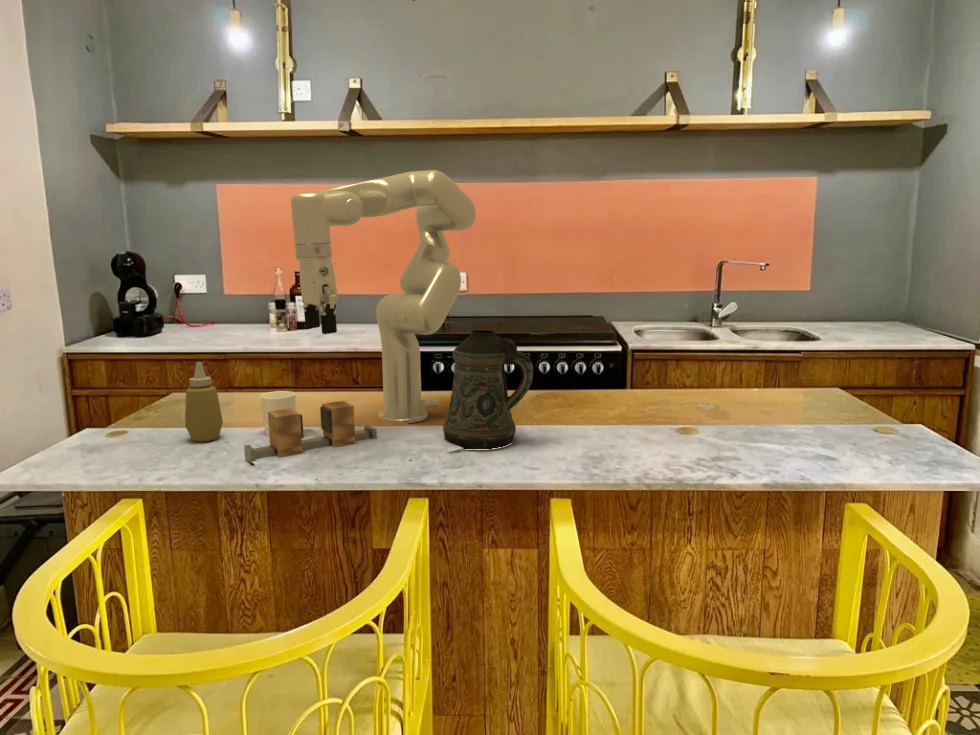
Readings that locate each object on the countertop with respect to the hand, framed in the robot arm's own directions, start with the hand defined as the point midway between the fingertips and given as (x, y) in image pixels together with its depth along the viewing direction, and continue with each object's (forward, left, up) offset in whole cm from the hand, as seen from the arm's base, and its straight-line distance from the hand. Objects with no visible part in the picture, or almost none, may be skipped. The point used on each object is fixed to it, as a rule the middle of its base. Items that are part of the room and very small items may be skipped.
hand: (321, 330), depth 157 cm
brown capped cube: (+11, +5, -25) cm, 27 cm away
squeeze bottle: (+22, -19, -26) cm, 39 cm away
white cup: (+7, -11, -26) cm, 29 cm away
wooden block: (-1, +5, -25) cm, 25 cm away
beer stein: (-30, +20, -26) cm, 44 cm away
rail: (+5, +5, -26) cm, 26 cm away
